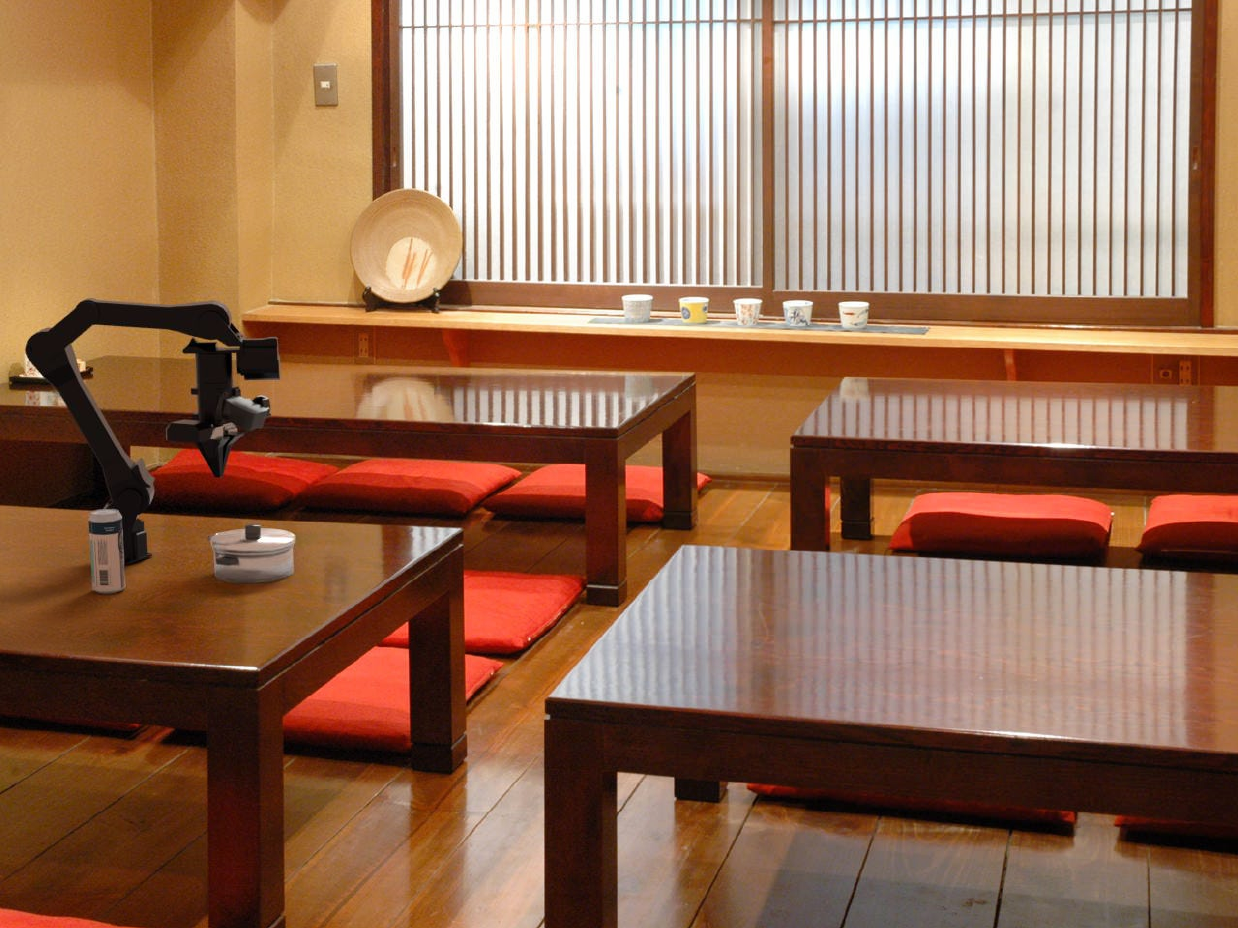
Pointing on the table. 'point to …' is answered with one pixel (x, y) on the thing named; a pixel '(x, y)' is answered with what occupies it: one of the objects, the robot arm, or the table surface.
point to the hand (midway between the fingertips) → (218, 477)
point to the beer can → (106, 551)
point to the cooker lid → (252, 539)
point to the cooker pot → (253, 565)
